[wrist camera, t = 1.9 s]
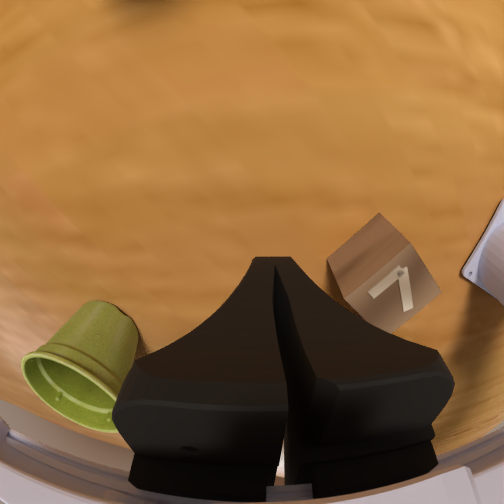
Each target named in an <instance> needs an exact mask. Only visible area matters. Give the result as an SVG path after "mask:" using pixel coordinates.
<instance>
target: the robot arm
mask: <svg viewBox="0 0 504 504" xmlns="http://www.w3.org/2000/svg"><path fill="white" fill-rule="evenodd" d="M469 272H470V273H469ZM461 273H462V275H463V276H464V277H466V278H467V279H469V280H470V281H472V282H473V283H475V284H476V285H477V286H479V287H480V288H482V289H483V290H485V291H486V292H488V293H489V294H490V295H492V296H493V297H495V298H496V299H497V300H498V301H499V302H500V303H501V304H502V305H503V306H504V199H503V200H502V201H501V203H500V205H499V207H498V208H497V210H496V212H495V214H494V216H493V218H492V220H491V222H490V224H489V226H488V227H487V229H486V231H485V233H484V234H483V236H482V238H481V240H480V241H479V243H478V245H477V246H476V248H475V250H474V251H473V253H472V255H471V256H470V258H469V259H468V261H467V263H466V264H465V266H464V267H463V269H462V272H461ZM454 385H455V383H454V380H453V377H452V375H451V373H450V371H449V369H448V368H447V366H446V364H445V362H444V361H443V359H442V357H441V355H440V354H439V352H438V351H437V350H435V349H432V348H429V347H426V346H423V345H420V344H416V343H413V342H410V341H407V340H405V339H402V338H400V337H397V336H395V335H393V334H390V333H388V332H386V331H384V330H382V329H380V328H378V327H376V326H374V325H372V324H370V323H368V322H367V321H365V320H363V319H361V318H359V317H358V316H356V315H355V314H353V313H351V312H350V311H348V310H347V309H346V308H344V307H343V306H341V305H340V304H339V303H337V302H336V301H335V300H333V299H332V298H331V297H330V296H328V295H327V294H326V293H325V292H324V291H323V290H322V289H320V288H319V287H318V286H317V285H316V284H315V283H314V282H313V281H312V280H311V279H310V278H309V277H308V276H307V275H306V274H305V272H304V271H303V270H302V269H301V268H300V267H299V266H298V265H297V263H296V262H295V261H294V260H293V259H292V258H291V257H255V258H254V259H253V260H252V263H251V265H250V267H249V269H248V271H247V273H246V274H245V276H244V277H243V279H242V280H241V282H240V284H239V285H238V286H237V288H236V289H235V290H234V291H233V293H232V294H231V295H230V297H229V298H228V299H227V300H226V301H225V302H224V303H223V305H222V306H221V307H220V308H219V309H218V310H217V311H216V312H215V313H213V314H212V315H211V316H210V317H209V318H208V319H207V320H205V321H204V322H203V323H202V324H201V325H199V326H198V327H197V328H195V329H194V330H193V331H191V332H190V333H188V334H186V335H185V336H183V337H182V338H180V339H178V340H177V341H175V342H173V343H171V344H170V345H168V346H166V347H164V348H162V349H160V350H158V351H155V352H153V353H151V354H149V355H147V356H145V357H142V358H140V359H137V360H135V361H134V363H133V365H132V367H131V369H130V371H129V372H128V374H127V376H126V378H125V380H124V382H123V384H122V386H121V389H120V391H119V394H118V397H117V399H116V402H115V405H114V407H113V410H112V421H113V423H114V425H115V427H116V429H117V430H118V432H119V433H120V434H121V436H122V437H123V438H124V440H125V441H126V442H127V444H128V445H129V446H130V448H131V449H132V450H133V451H134V453H135V454H134V458H133V462H132V466H131V470H130V472H129V471H125V470H120V469H117V468H113V467H109V466H106V465H102V464H99V463H95V462H92V461H89V460H86V459H83V458H80V457H77V456H74V455H71V454H68V453H66V452H63V451H60V450H57V449H55V448H53V447H50V446H48V445H45V444H43V443H41V442H38V441H36V440H34V439H32V438H29V437H27V436H25V435H23V434H21V433H19V432H17V431H15V430H13V429H11V428H9V426H8V424H7V423H6V422H5V421H4V420H3V419H2V418H1V417H0V500H1V501H3V502H4V503H5V504H504V427H502V428H500V429H498V430H496V431H494V432H492V433H490V434H488V435H486V436H484V437H482V438H479V439H477V440H475V441H473V442H470V443H468V444H466V445H463V446H461V447H459V448H456V449H454V450H451V451H448V452H446V453H443V454H440V455H437V456H436V454H435V452H434V449H433V446H432V443H431V440H432V439H433V438H434V437H435V432H434V430H433V427H432V425H431V424H432V422H433V421H434V420H435V419H436V417H437V416H438V415H439V413H440V412H441V411H442V409H443V408H444V407H445V405H446V404H447V402H448V401H449V399H450V397H451V395H452V393H453V389H454ZM283 439H284V469H285V485H282V486H274V482H275V477H276V472H277V466H279V462H280V456H281V451H282V445H283Z"/></svg>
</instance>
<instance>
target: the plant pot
mask: <svg viewBox="0 0 504 504" xmlns="http://www.w3.org/2000/svg"><path fill="white" fill-rule="evenodd" d="M138 338H139V337H138V331H137V328H136V326H135V324H134V322H133V321H132V320H131V318H130V317H128V316H126V315H124V314H123V313H121V312H120V311H119V310H118V309H117V307H116V306H114V305H112V304H110V303H107V302H103V301H91V302H88V303H86V304H85V305H83V306H82V307H81V308H80V309H79V310H78V311H77V312H76V313H75V314H74V315H73V316H72V318H71V319H70V320H69V321H68V322H67V323H66V324H65V325H64V326H63V327H62V328H61V329H60V330H59V331H58V332H57V333H56V334H55V335H54V336H53V337H52V338H51V339H50V340H49V341H48V342H47V343H46V344H45V345H42V346H40V347H39V348H38V349H37V350H36V351H35V352H30V353H28V354H26V355H25V356H24V357H23V359H22V361H21V368H22V373H23V375H24V378H25V380H26V381H27V383H28V384H29V385H30V387H31V389H32V390H33V391H34V392H35V393H36V394H37V395H38V396H39V397H40V398H41V400H42V401H44V402H45V403H46V404H47V405H48V406H50V407H51V408H52V409H53V410H55V411H56V412H58V413H59V414H61V415H62V416H64V417H66V418H67V419H69V420H71V421H73V422H75V423H77V424H79V425H82V426H84V427H87V428H90V429H93V430H97V431H101V432H107V433H116V432H118V430H117V429H116V427H115V425H114V423H113V421H112V410H113V407H114V405H115V402H116V399H117V397H118V394H119V391H120V389H121V386H122V384H123V382H124V380H125V378H126V376H127V374H128V372H129V371H130V369H131V367H132V365H133V362H134V358H135V353H136V348H137V344H138Z"/></svg>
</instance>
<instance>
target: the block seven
mask: <svg viewBox="0 0 504 504" xmlns="http://www.w3.org/2000/svg"><path fill="white" fill-rule="evenodd" d="M327 260H328V263H329V265H330V267H331V269H332V272H333V274H334V276H335V279H336V281H337V283H338V286H339V288H340V291H341V293H342V295H343V298H344V299H345V300H346V301H347V302H348V303H349V304H350V305H351V306H352V307H353V308H354V309H355V310H356V311H357V312H358V313H359V314H360V315H361V316H362V317H363V318H364V319H365V320H366V321H367V322H368V323H370V324H372V325H374V326H376V327H378V328H380V329H382V330H384V331H386V332H388V333H390V334H391V333H392V332H393V331H395V330H396V329H397V328H399V327H400V326H401V325H403V324H404V323H405V322H406V321H408V320H409V319H410V318H411V317H413V316H414V315H415V314H416V313H418V312H419V311H420V310H421V309H422V308H424V307H425V306H426V305H427V304H428V303H430V302H431V301H432V300H433V299H434V298H435V297H437V296H438V295H439V294H440V293H441V290H440V289H439V287H438V285H437V284H436V282H435V280H434V279H433V277H432V275H431V274H430V272H429V271H428V269H427V267H426V266H425V264H424V263H423V261H422V260H421V258H420V256H419V255H418V253H417V252H416V250H415V249H414V247H413V246H412V244H411V243H410V242H409V241H408V240H407V239H406V238H405V237H404V236H403V235H402V234H401V233H400V232H399V231H398V230H397V229H396V228H395V227H394V226H393V225H392V224H391V223H390V222H389V221H388V220H387V219H385V218H384V217H383V216H382V215H381V214H380V213H378V214H377V215H376V216H375V217H374V218H372V219H371V220H370V221H369V222H368V223H367V224H366V225H365V226H364V227H362V228H361V229H360V230H359V231H358V232H357V233H356V234H355V235H353V236H352V237H351V238H350V239H349V240H348V241H347V242H345V243H344V244H343V245H342V246H341V247H340V248H338V249H337V250H336V251H335V252H334V253H333V254H331V255H330V256H329V257H328V258H327Z"/></svg>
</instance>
